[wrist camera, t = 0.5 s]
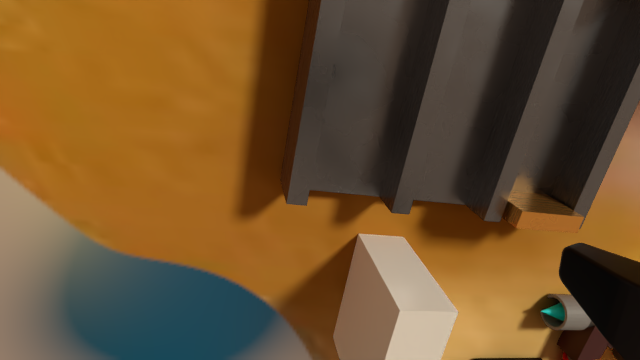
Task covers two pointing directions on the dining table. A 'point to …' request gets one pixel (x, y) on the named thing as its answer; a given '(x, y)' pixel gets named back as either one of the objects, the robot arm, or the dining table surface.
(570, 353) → the toy gun
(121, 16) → the dining table surface
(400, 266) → the block
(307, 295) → the dining table surface
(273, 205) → the dining table surface
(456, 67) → the rack
